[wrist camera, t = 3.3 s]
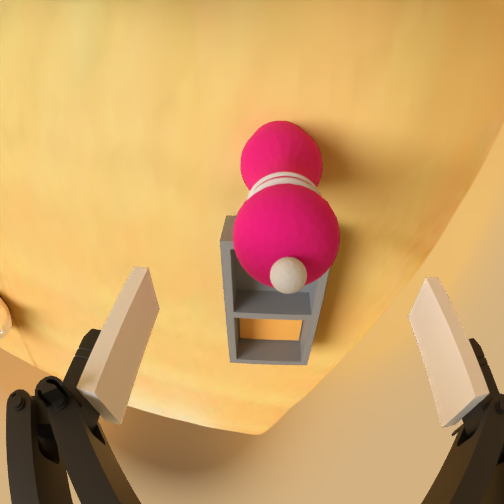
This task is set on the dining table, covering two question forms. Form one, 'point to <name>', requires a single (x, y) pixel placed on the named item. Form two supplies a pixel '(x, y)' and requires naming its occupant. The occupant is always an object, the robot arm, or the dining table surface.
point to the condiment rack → (266, 313)
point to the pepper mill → (284, 210)
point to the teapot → (4, 319)
